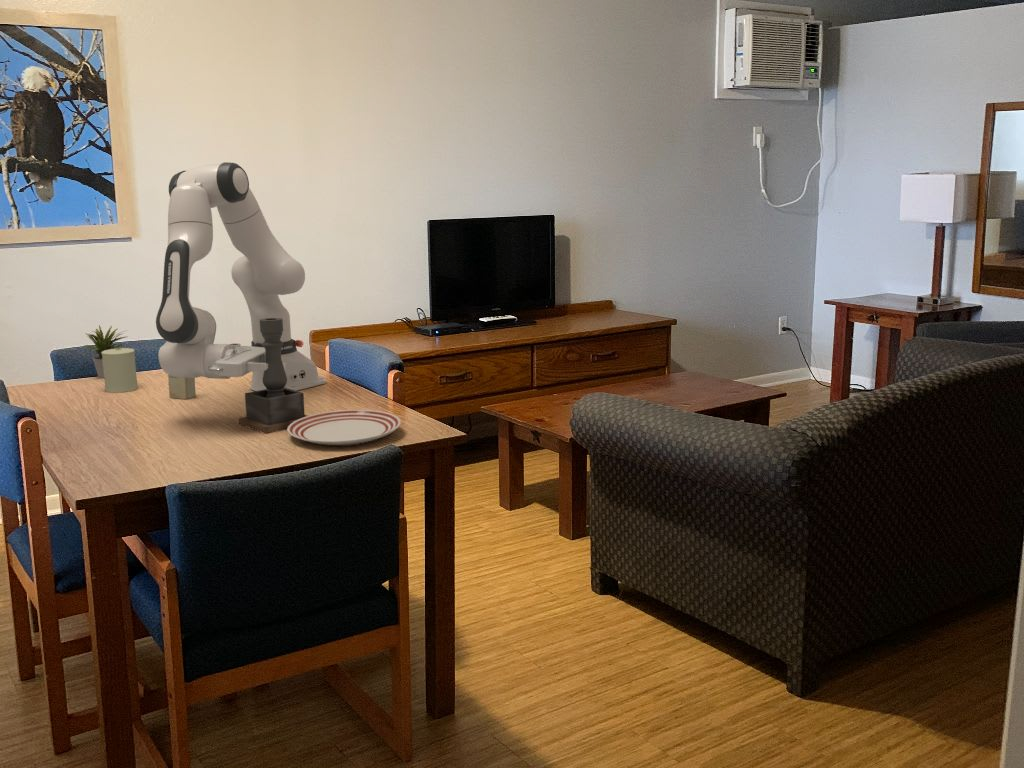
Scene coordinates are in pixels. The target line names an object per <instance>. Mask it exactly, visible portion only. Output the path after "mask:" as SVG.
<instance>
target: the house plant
mask: <svg viewBox="0 0 1024 768" xmlns="http://www.w3.org/2000/svg"><path fill="white" fill-rule="evenodd" d="M112 327H113V325H111V326H110V327H109V329H108V330H107V332H106V333H105V336H104V333H103V330H102V327H101V325H100V324H99V325H98V328H95V331H93V330H91V332H93V333H95V334H91V333H85V335H86V337H87V338H89V339H90V340H91V341H92V342H93V344H94V345H95V347H94V346H92V345H89V344H85V345H83V347H86V348H90V349H92V353H93V354H94V353H96V354H97V355H96V356H93V357H92V360H93V363H94V364H93V365H94V367H95V371H96V374H97V377H98V378H99V379H104V368H103V359H102V353H101V352H102V351H105V350H109V349H117V348H121V347H125V346H124V343H125V341H124V342H120V343H115V342H117V341H120V340H122V339H125V338H128V337H129V336H121V337H119V336H120V335H122V333H124V332H125V330H123V331H120V332H118V333H117V332H116V331H117V330H118V328H116V329H114V330H113V331H112V332H111V330H112ZM127 331H129V330H126V332H127Z"/></svg>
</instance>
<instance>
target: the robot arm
mask: <svg viewBox="0 0 1024 768" xmlns="http://www.w3.org/2000/svg"><path fill="white" fill-rule="evenodd" d="M249 181H250V180H249V177H248V175H247V173H246V171H245V169H244V168H243V167H242V166H240V164H238V163H235V162H222V163H213V164H204V165H201V166H199V167H195V168H191V169H189V170H182V171H179V172H178V173H175V174H174V175H173V176H172V177H171V179H170V181H169V184H168V195H169V203H168V213H167V247H166V250H165V254H164V261H163V263H164V264H163V279H162V280H163V281H162V295H161V296H162V297H161V303H160V306H159V308H158V311H157V314H156V318H155V325H156V326H155V327H156V331H157V333H158V334H159V336H160V337H161V338H162V339H164V340H165V343H164V344H163V345H162V346H160V348H159V349H158V352H157V353H158V355H157V357H158V363H159V366H160V368H161V369H162V371H163V372H164V373H166V375H168V374H169V375H171V376H176V377H185V378H195V379H197V378H203V377H204V378H207V379H217V380H218V379H219V380H220V379H223V380H228V379H230V378H239V377H244V376H245V375H247V374H250V373H251V372H252V375H251V383H250V386H249V389H250V390H251V391H253V392H254V391H260V390H265V389H267V388H266V387H265V386H264V384H263V374H264V371H265V370H267V369H268V363H267V362H266V354H265V348H264V347H263V346H262V343H263V342H264V341H265V340H264V338H263V336H262V333H261V332H260V319H265V318H282V319H283V332H282V336H281V338H280V341H282V342H283V345H282V346H281V360H282V363H283V366H284V370H285V373H286V376H287V383H286V386H285V387H284V388H288V389H291V390H295V391H300V390H304V389H307V388H313V387H316V386H320V385H323V384H327V380H326V379H327V378H325V377H323V376H320V375H319V373H318V368H317V365H316V363H315V362H314V360H312V359H310V358H309V357H308V356H305V355H304V354H303V353H301V352H300V351H299V350H298V349H297V347H299V348H302V347H303V346H304V343H305V342H304V341H302V340H300V339H296V340H295V339H293V338H292V331H291V330H292V329H291V315H290V313H289V310H288V309H287V308H286V307H285V306H284V305H283V303H282V301H281V299H280V296H286V295H291V294H295V293H298V292H299V291H300V290H302V288H303V286H304V284H305V280H306V273H305V269H304V266H303V265H302V264H301V263H300V262H299V261H298V260H296V259H295V258H294V257H292V256H291V255H290V254H289V252H287V251H286V249H284V247H283V246H282V244H280V241H278V240H277V239H276V237H275V236H274V234H273V232H272V231H271V229H270V227H269V225H268V222H267V221H266V218H265V216H264V214H263V212H262V209H261V207H260V205H259V202H258V201H257V198H256V197H255V195H254V193H253V191H252V190H251V188H250V182H249ZM212 208H213V209H214V208H216V209H217V212H218V214H219V217H220V220H221V222H222V224H223V226H224V228H225V231H226V232H227V235H228V237H229V239H230V241H231V244H232V245H233V247H234V248H235V250H237V251H238V252H239V253H241V254H242V255H243V256H240V257H239V258H237V259H236V260H235V261H234V263H233V264H232V267H231V271H230V272H231V278H232V280H233V283H234V284H235V285H236V286H237V287H238V289H239V290H240V291H241V293H242V295H243V298H244V300H245V301H246V302H245V303H246V305H247V308H248V312H249V316H250V324H251V335H252V336H251V337H252V340H251V343H250V344H251V345H241V343H230V344H229V343H214V342H215V339H216V338H215V337H216V333H217V323H216V320H215V317H214V316H213V315H212V314H211V312H209V311H208V310H205V309H202V308H199V307H196V306H195V307H194V306H193V305H192V303H191V301H190V287H191V286H190V284H191V282H190V281H191V271H192V268H193V265H194V264H195V263H196V262H199V261H201V260H202V259H204V258H205V257H206V256H208V255H209V254H210V252H211V251H212V247H213V241H214V226H213V215H212Z"/></svg>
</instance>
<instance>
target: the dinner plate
mask: <svg viewBox="0 0 1024 768" xmlns="http://www.w3.org/2000/svg"><path fill="white" fill-rule="evenodd" d="M401 423H402V420H401V418H399V416H397V415H395V414H393V413H389V412H386V411H381V410H372V409H339V410H333V411H332V410H331V411H325V412H324V411H323V412H319V413H315V414H311V415H307V417H303V418H301V419H298V420H296V421H294V422H293V423H291V424H290V425H289V426H288V428H287V429H286V430H287V433H288V434H289V435H290V436H291V437H293V438H296V439H298V440H302V441H305V442H309V443H312V444H316V443H317V445H321V444H325V445H324V446H330V445H345V446H352V445H351V444H356V445H359V444H358V443H362V444H365V443H364V442H367V443H369V442H368V441H370V442H373V441H376V440H377V439H380V438H383V437H386V436H387V435H390V434H391V433H393V432H395V431H396V430H398V428H399V427H400V426H401ZM375 439H376V440H375ZM372 440H373V441H372Z"/></svg>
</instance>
